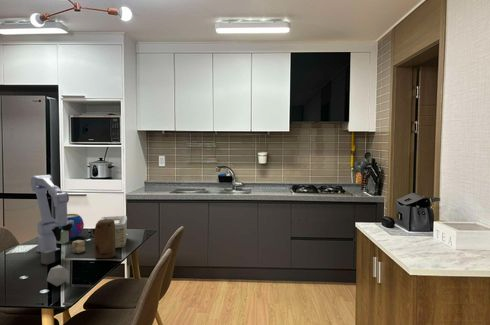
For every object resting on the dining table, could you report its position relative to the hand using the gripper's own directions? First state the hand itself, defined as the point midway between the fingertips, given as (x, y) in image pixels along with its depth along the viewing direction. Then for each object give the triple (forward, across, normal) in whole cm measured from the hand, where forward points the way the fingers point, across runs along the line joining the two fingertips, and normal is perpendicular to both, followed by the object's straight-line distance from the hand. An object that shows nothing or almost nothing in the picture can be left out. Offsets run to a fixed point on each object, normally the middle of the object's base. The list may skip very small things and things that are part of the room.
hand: (62, 239), depth 198 cm
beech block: (+10, +10, -1) cm, 14 cm away
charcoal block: (+10, -10, -1) cm, 14 cm away
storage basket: (+10, +30, -8) cm, 33 cm away
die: (+10, -29, -30) cm, 43 cm away
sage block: (+2, 0, 0) cm, 2 cm away
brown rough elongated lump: (+10, +8, -22) cm, 25 cm away
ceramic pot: (+10, +29, +27) cm, 41 cm away
